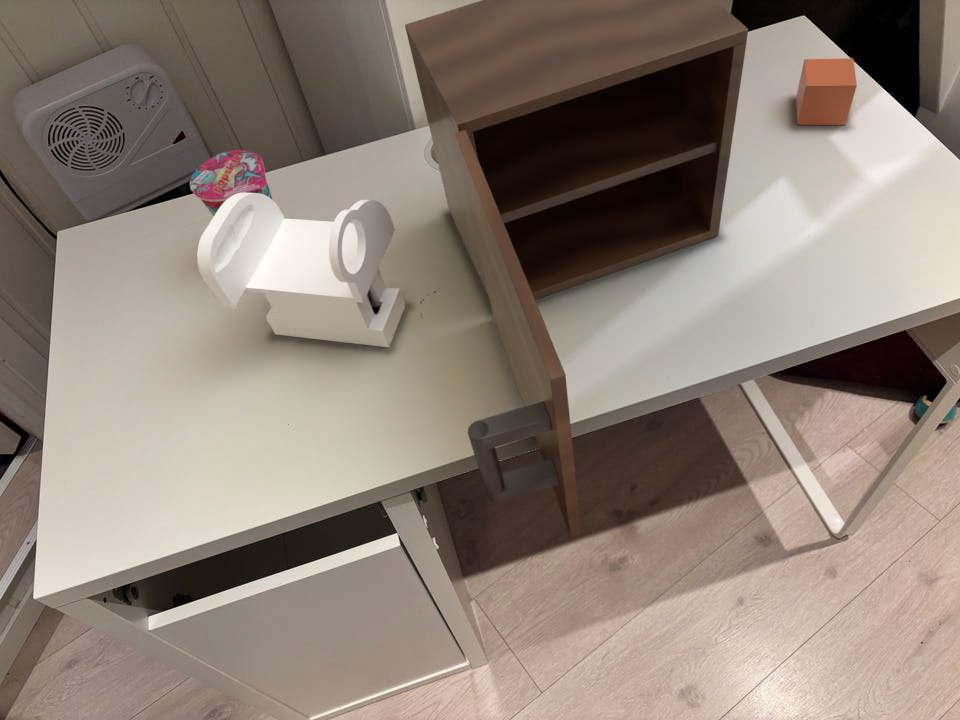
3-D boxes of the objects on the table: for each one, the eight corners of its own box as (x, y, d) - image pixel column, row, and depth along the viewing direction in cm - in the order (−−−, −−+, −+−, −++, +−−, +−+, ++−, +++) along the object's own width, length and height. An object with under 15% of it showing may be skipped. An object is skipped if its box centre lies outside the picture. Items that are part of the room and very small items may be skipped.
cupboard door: (506, 558, 64) (458, 406, 45) (441, 333, 80) (386, 151, 61) (581, 535, 64) (565, 375, 45) (502, 316, 80) (465, 129, 61)
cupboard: (718, 235, 83) (748, 28, 63) (495, 313, 81) (457, 124, 61) (647, 145, 94) (654, -55, 74) (449, 211, 92) (404, 24, 72)
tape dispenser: (413, 287, 85) (372, 161, 71) (378, 379, 78) (324, 259, 64) (303, 277, 89) (242, 155, 74) (259, 363, 81) (183, 247, 67)
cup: (226, 277, 91) (180, 202, 81) (242, 229, 96) (200, 153, 86) (299, 271, 89) (261, 194, 80) (311, 222, 94) (276, 145, 85)
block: (842, 98, 93) (853, 58, 89) (845, 125, 90) (857, 85, 86) (795, 98, 95) (804, 58, 90) (797, 125, 92) (806, 85, 87)
